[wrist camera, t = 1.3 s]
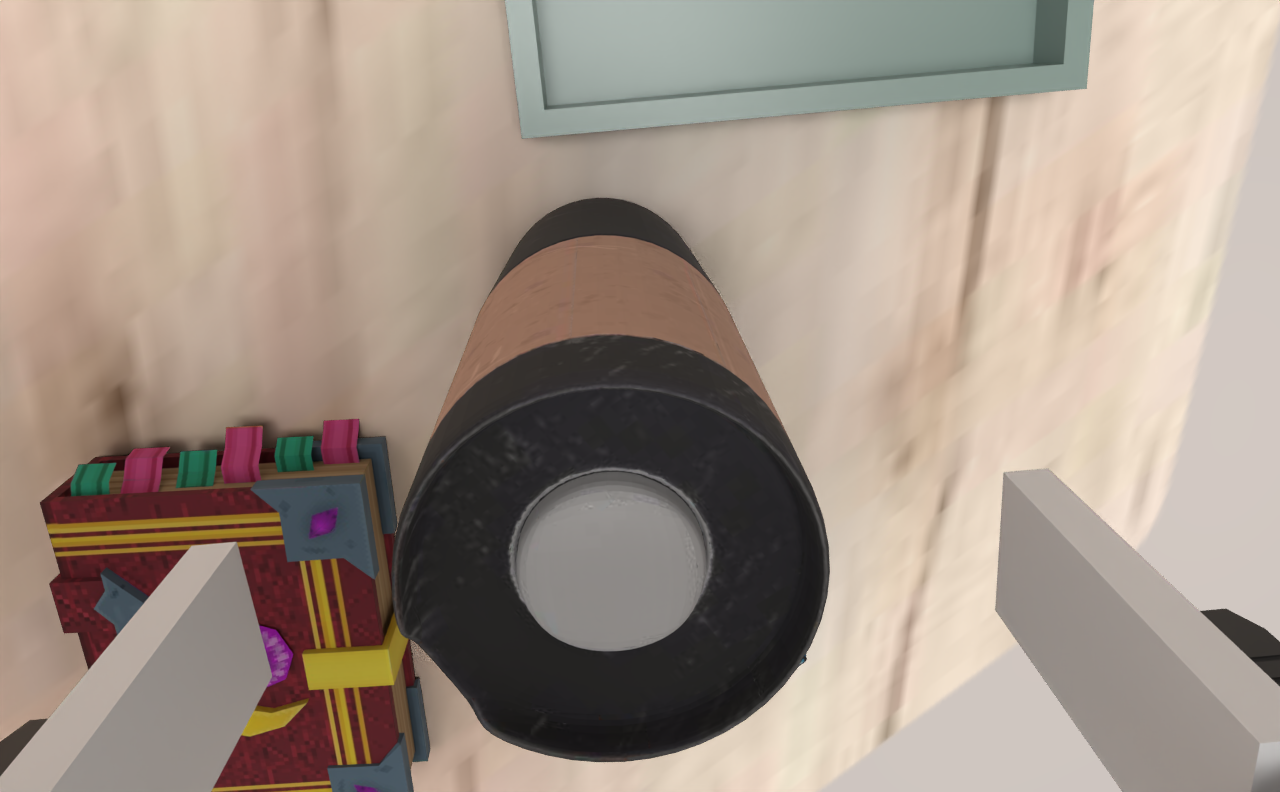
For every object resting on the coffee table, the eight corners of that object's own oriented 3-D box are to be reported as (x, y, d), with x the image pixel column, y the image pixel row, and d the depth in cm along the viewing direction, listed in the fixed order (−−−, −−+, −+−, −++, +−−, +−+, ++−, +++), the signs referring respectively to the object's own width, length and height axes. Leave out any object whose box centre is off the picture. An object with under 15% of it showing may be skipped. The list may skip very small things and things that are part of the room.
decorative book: (175, 759, 41) (121, 851, 36) (86, 420, 35) (8, 476, 31) (434, 744, 41) (413, 832, 37) (386, 405, 36) (355, 458, 31)
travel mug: (728, 213, 34) (899, 423, 15) (679, 408, 36) (772, 797, 17) (517, 168, 33) (413, 330, 14) (482, 371, 35) (356, 738, 16)
